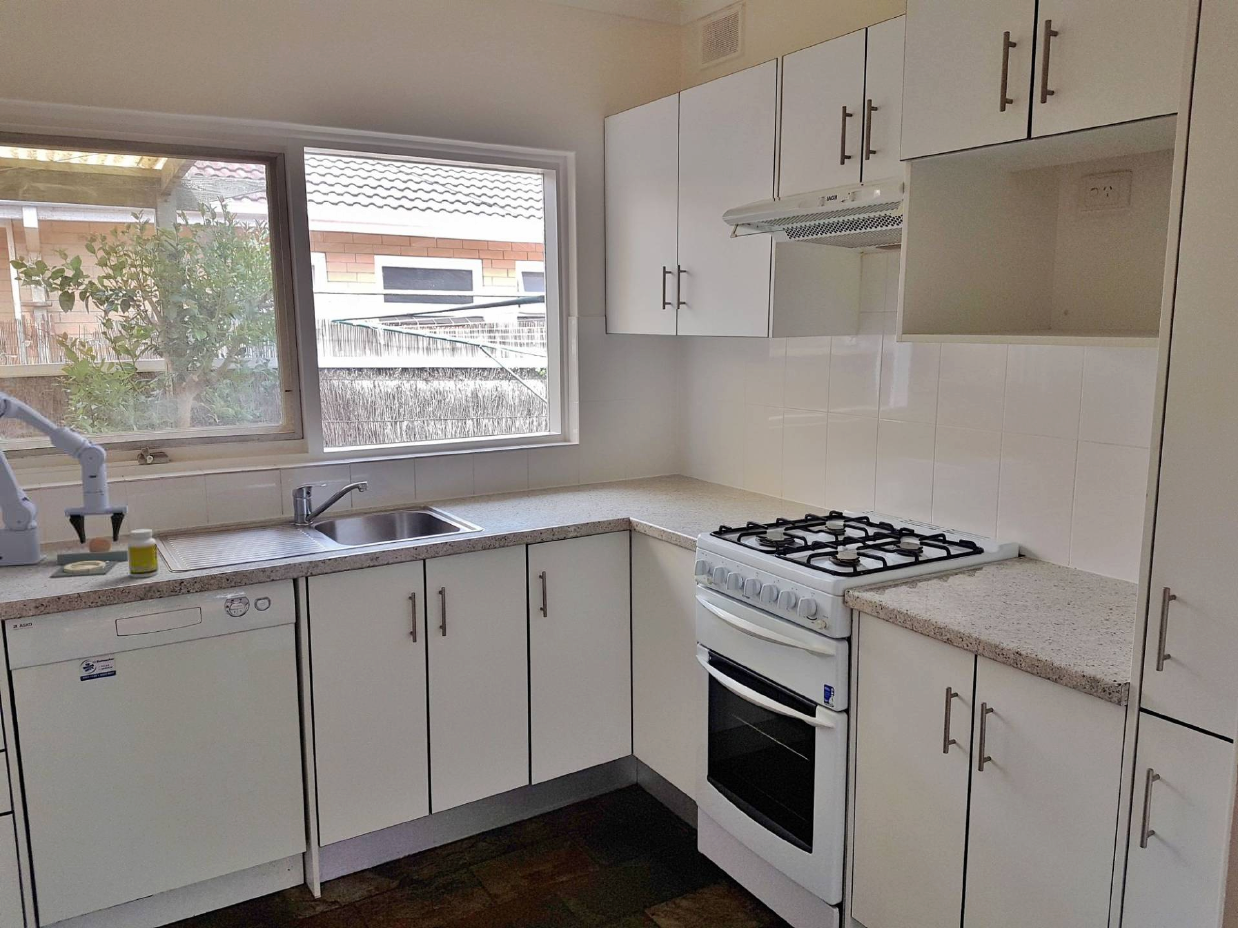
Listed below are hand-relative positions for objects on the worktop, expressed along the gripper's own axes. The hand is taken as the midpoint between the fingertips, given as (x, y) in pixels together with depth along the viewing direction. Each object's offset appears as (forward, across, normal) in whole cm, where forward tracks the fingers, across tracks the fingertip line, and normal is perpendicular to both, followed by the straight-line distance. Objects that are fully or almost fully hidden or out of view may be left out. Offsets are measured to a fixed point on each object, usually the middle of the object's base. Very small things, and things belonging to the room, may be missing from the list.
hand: (99, 541), depth 241 cm
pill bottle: (+4, -15, +24) cm, 29 cm away
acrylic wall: (+4, 0, +7) cm, 8 cm away
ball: (+4, 0, 0) cm, 4 cm away
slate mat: (+4, 0, +15) cm, 15 cm away
